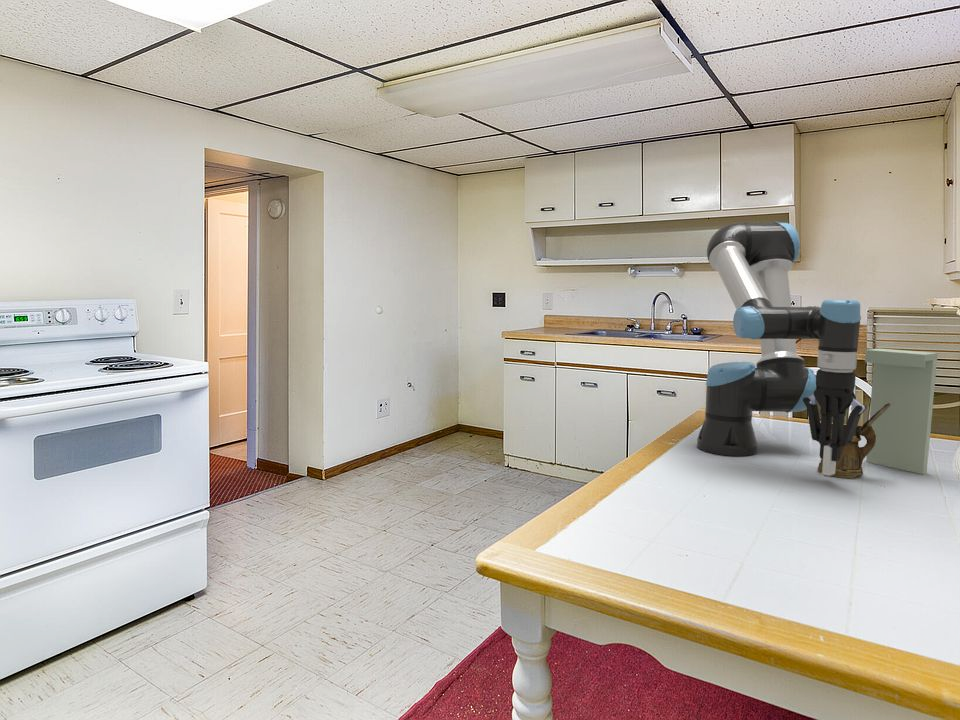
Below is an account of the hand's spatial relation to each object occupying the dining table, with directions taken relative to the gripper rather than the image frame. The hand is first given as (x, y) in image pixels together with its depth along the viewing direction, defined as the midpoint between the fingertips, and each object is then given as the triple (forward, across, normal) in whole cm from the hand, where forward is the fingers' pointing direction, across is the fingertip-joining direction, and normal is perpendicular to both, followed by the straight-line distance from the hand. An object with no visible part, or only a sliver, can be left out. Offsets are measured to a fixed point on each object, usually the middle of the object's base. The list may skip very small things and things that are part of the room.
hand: (828, 473), depth 138 cm
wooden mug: (+2, 0, +10) cm, 10 cm away
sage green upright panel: (+2, +3, +24) cm, 24 cm away
